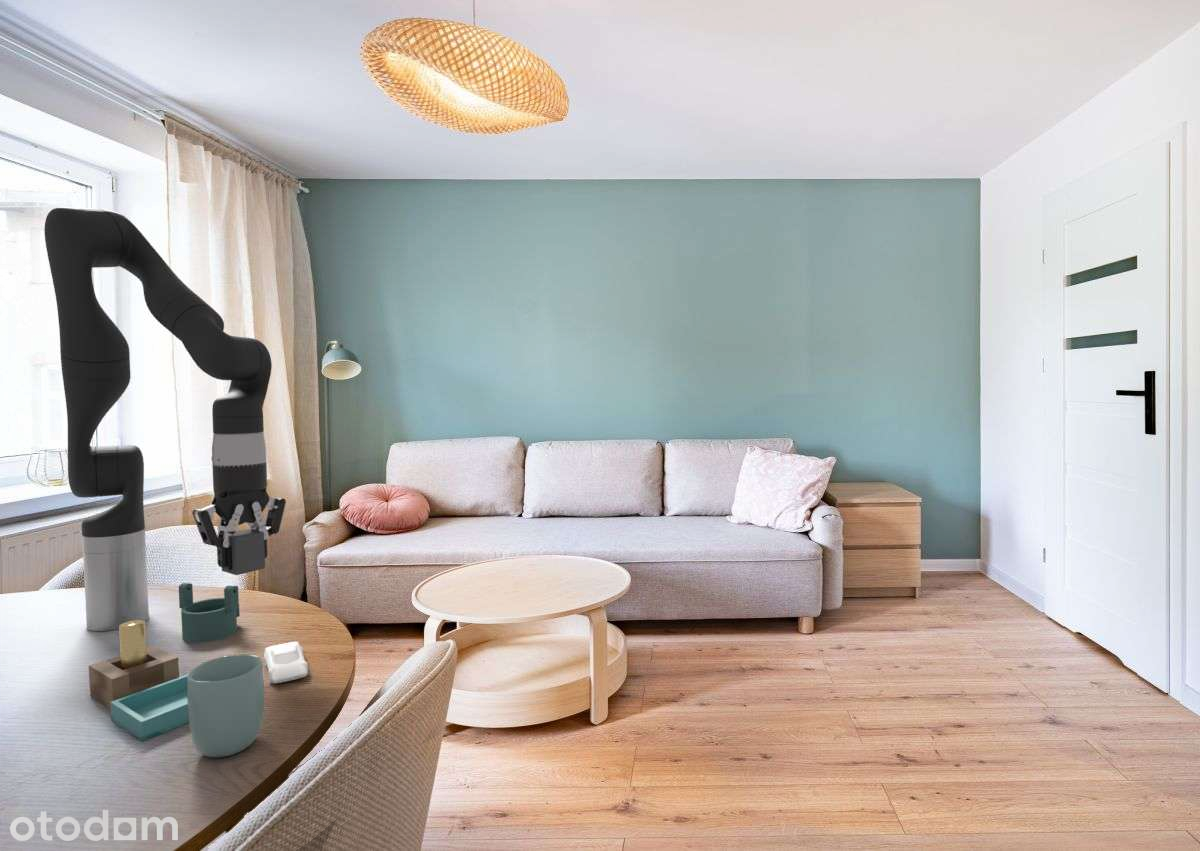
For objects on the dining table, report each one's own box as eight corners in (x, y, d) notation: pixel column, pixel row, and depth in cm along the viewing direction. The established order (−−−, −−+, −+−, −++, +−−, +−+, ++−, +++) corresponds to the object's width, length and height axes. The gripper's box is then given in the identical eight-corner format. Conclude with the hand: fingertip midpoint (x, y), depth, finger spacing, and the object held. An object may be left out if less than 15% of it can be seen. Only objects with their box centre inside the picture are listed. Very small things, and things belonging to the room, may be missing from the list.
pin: (118, 693, 88) (115, 625, 88) (142, 684, 91) (139, 618, 90) (127, 698, 86) (124, 629, 86) (152, 690, 89) (149, 622, 88)
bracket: (239, 636, 109) (238, 586, 108) (177, 647, 104) (175, 595, 104) (239, 620, 116) (238, 574, 116) (181, 629, 112) (179, 581, 111)
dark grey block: (236, 575, 96) (235, 537, 96) (221, 570, 99) (220, 534, 98) (265, 568, 100) (263, 532, 100) (250, 564, 103) (249, 528, 102)
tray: (111, 720, 81) (110, 701, 81) (210, 683, 91) (209, 666, 91) (142, 741, 76) (141, 722, 76) (243, 699, 86) (242, 682, 86)
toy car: (269, 692, 89) (268, 669, 89) (263, 661, 99) (262, 641, 99) (310, 682, 92) (310, 660, 92) (300, 653, 102) (299, 633, 102)
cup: (212, 731, 78) (209, 654, 78) (276, 728, 79) (273, 652, 78) (176, 768, 70) (172, 684, 70) (246, 765, 71) (243, 681, 71)
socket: (90, 695, 87) (88, 665, 87) (154, 673, 94) (153, 645, 94) (113, 711, 83) (112, 679, 83) (179, 687, 90) (178, 657, 90)
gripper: (203, 467, 91) (207, 580, 91) (295, 458, 103) (298, 558, 104) (179, 464, 95) (183, 573, 95) (270, 455, 107) (273, 552, 108)
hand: (243, 565), depth 100 cm, fingers closed on dark grey block, 4 cm apart
